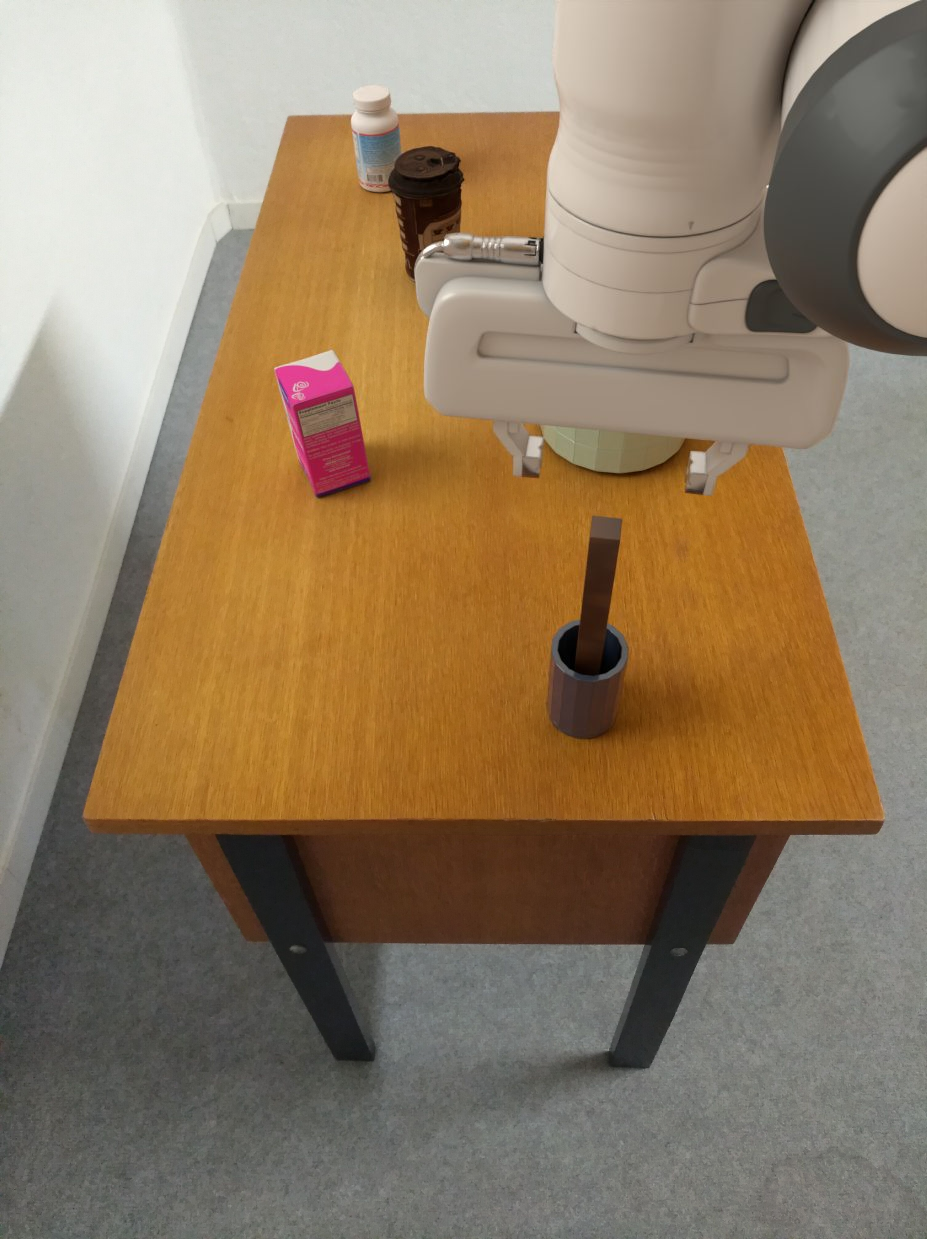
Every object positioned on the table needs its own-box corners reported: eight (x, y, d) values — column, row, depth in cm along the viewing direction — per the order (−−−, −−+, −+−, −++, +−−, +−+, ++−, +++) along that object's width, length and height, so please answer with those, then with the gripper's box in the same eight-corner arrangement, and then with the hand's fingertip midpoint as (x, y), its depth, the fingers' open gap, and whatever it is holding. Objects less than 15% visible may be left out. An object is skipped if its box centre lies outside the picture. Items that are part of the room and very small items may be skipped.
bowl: (687, 386, 92) (697, 337, 87) (684, 484, 84) (695, 435, 79) (548, 375, 94) (551, 326, 89) (531, 470, 85) (533, 421, 81)
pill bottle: (413, 179, 120) (406, 89, 111) (383, 198, 117) (373, 108, 108) (379, 167, 122) (369, 77, 113) (349, 185, 119) (337, 96, 111)
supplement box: (296, 462, 87) (272, 365, 78) (353, 444, 88) (336, 346, 79) (314, 500, 84) (291, 403, 75) (373, 481, 85) (357, 384, 76)
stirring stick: (594, 696, 69) (622, 518, 53) (592, 716, 68) (620, 540, 52) (571, 693, 70) (592, 515, 54) (569, 713, 68) (589, 537, 53)
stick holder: (619, 683, 71) (630, 623, 64) (614, 743, 67) (625, 685, 61) (551, 675, 71) (555, 614, 65) (543, 733, 68) (547, 675, 62)
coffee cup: (483, 264, 107) (480, 153, 97) (445, 299, 103) (438, 187, 93) (422, 245, 110) (414, 135, 100) (383, 278, 106) (370, 168, 96)
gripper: (395, 270, 38) (418, 499, 49) (895, 306, 36) (800, 539, 47) (424, 195, 42) (439, 423, 53) (879, 223, 39) (795, 457, 50)
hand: (611, 478), depth 50 cm, fingers open, 8 cm apart
